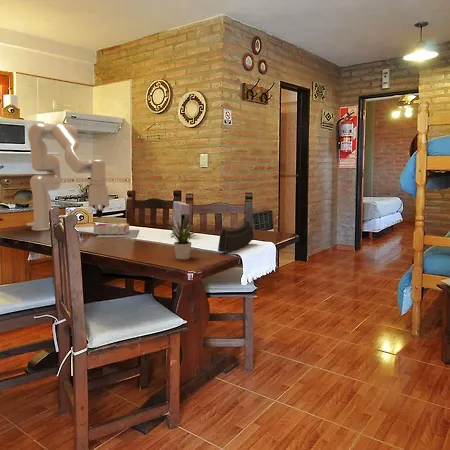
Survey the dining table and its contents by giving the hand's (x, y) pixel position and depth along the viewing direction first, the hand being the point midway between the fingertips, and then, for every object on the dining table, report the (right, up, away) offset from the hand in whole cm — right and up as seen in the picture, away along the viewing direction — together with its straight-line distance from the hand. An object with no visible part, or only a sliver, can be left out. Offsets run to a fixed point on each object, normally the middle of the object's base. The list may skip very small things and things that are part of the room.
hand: (99, 217), depth 238 cm
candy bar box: (-2, -6, 0) cm, 6 cm away
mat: (+10, -9, +2) cm, 14 cm away
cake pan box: (+44, -10, -1) cm, 45 cm away
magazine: (+72, -15, -37) cm, 83 cm away
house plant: (+49, -18, -59) cm, 78 cm away
